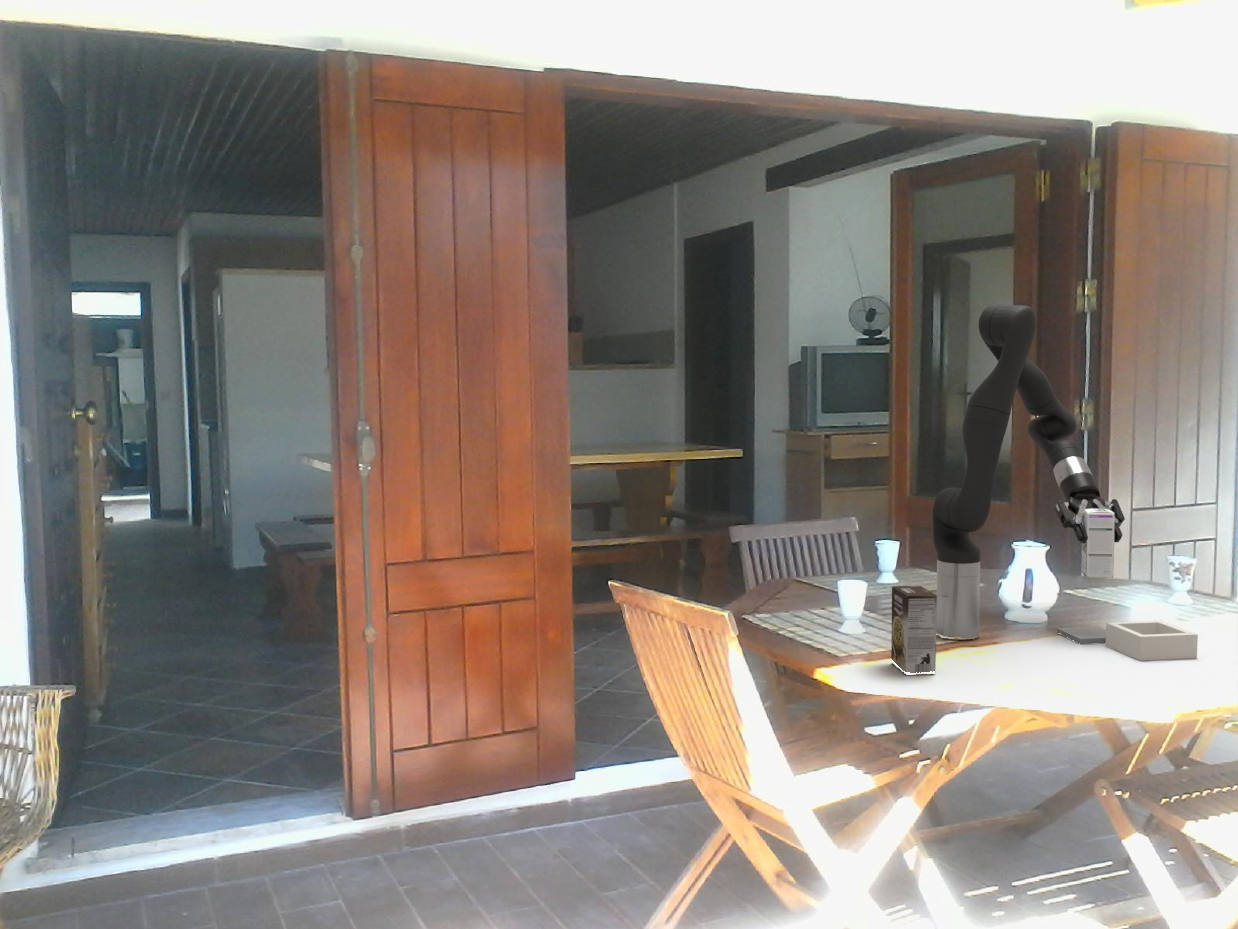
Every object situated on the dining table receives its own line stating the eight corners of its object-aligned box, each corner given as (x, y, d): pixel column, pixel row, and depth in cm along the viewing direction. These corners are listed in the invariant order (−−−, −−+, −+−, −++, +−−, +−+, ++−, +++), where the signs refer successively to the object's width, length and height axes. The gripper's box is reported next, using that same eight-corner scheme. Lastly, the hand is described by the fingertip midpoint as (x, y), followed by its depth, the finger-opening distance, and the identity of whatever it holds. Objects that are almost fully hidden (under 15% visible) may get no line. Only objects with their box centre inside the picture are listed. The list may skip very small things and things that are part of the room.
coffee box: (889, 663, 222) (890, 585, 220) (920, 662, 222) (921, 585, 221) (904, 676, 212) (905, 595, 211) (936, 675, 213) (938, 594, 211)
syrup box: (1114, 578, 234) (1116, 512, 233) (1085, 577, 236) (1087, 511, 234) (1108, 573, 240) (1110, 508, 239) (1080, 572, 241) (1082, 507, 240)
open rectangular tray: (1139, 660, 222) (1140, 636, 221) (1105, 645, 234) (1106, 622, 233) (1196, 658, 223) (1197, 634, 223) (1159, 643, 235) (1160, 620, 235)
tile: (1080, 644, 235) (1080, 638, 235) (1056, 633, 245) (1056, 628, 245) (1123, 642, 236) (1123, 637, 236) (1098, 631, 246) (1098, 626, 246)
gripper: (1051, 471, 242) (1076, 531, 232) (1112, 470, 244) (1140, 529, 233) (1039, 492, 248) (1063, 551, 238) (1099, 491, 250) (1125, 549, 239)
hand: (1101, 540), depth 236 cm, fingers closed on syrup box, 7 cm apart
